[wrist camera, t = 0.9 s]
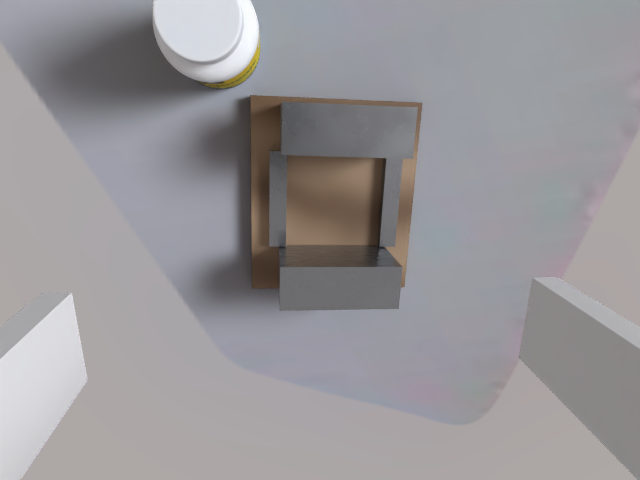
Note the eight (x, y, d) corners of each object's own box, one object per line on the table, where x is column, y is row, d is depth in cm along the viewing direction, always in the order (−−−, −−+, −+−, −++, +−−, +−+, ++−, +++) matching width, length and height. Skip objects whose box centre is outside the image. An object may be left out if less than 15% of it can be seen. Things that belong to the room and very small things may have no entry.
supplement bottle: (192, 97, 29) (155, 88, 20) (168, 11, 28) (115, -44, 18) (269, 81, 29) (269, 64, 20) (250, -5, 28) (239, -68, 18)
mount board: (251, 95, 29) (250, 95, 28) (417, 103, 31) (422, 102, 30) (252, 283, 33) (251, 288, 32) (400, 282, 35) (404, 287, 34)
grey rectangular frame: (269, 103, 29) (269, 101, 24) (403, 109, 30) (429, 107, 25) (269, 282, 32) (268, 310, 28) (388, 281, 33) (408, 308, 29)
